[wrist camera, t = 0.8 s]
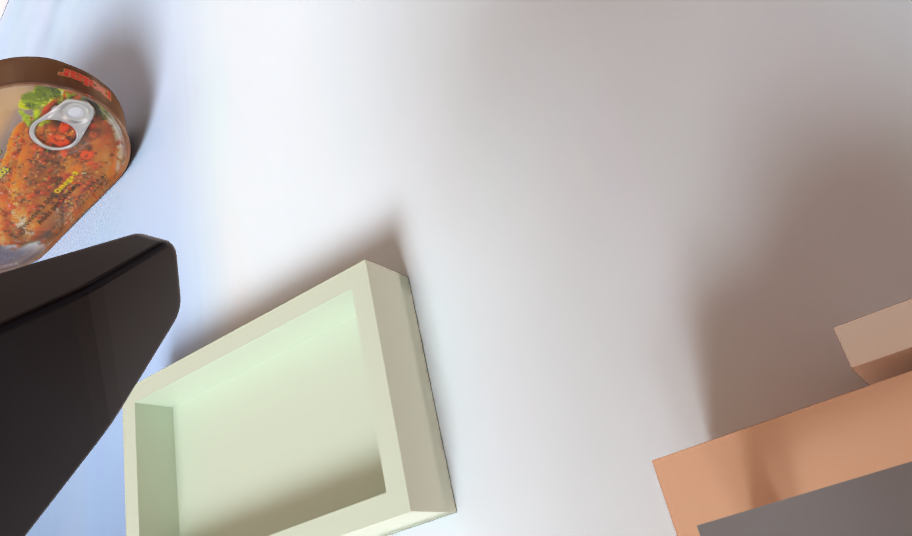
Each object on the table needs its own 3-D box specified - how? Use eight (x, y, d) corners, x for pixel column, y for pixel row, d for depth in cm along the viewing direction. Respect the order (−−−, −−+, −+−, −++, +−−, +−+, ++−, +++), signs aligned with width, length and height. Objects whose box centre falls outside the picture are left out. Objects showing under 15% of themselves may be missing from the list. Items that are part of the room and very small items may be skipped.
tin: (8, 292, 47) (-158, 253, 41) (4, 250, 49) (-155, 207, 42) (165, 137, 42) (5, 63, 35) (156, 96, 44) (1, 19, 37)
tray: (456, 512, 26) (411, 511, 24) (182, 604, 32) (128, 609, 30) (408, 276, 30) (365, 259, 28) (171, 398, 36) (122, 390, 34)
